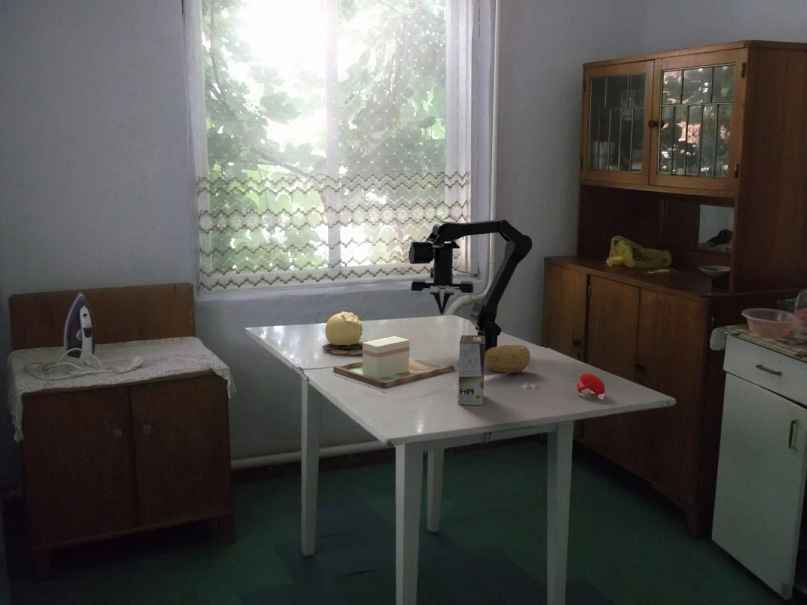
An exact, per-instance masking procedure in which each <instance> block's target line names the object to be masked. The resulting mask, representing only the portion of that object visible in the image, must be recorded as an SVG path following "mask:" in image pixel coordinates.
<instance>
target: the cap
mask: <svg viewBox="0 0 807 605" xmlns="http://www.w3.org/2000/svg"><path fill="white" fill-rule="evenodd" d="M576 388H577V392H578V393H579V392H580V393H582V394H583V392H582V391H584V390H587V389H588V390H589V391H590V390H591V391H593V392H595V393H594V394H595V396H596V395H599V394H603V393H605V394H606V391H605V390H606V387H605V384H604V382H603V381H602V379H600V377H598V376H597V375H594V374H592V373H589V372H588V373H587V372H586V373H582V374H580V375H579V380H578V382H577V386H576Z"/></svg>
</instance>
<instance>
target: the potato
mask: <svg viewBox="0 0 807 605" xmlns="http://www.w3.org/2000/svg"><path fill="white" fill-rule="evenodd" d="M530 360H531V353H530V350H529V349H528V347H527V346H526V345H523V344H504V345H499V346H498V345H497V347H493V348H490V349H489V350H487V352H486V353H485V364H486V365H487V367H488V368H490V369H491V370H492V371H494V372H496V373H497V374H500V373H510V374H513V373H516V372H519V371H523V370H525V368H526V367H527V366H528V365H529V363H530ZM486 365H485V366H486Z"/></svg>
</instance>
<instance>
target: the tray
mask: <svg viewBox="0 0 807 605" xmlns="http://www.w3.org/2000/svg"><path fill="white" fill-rule="evenodd" d="M431 368H434V369H431ZM427 369H429V370H427ZM424 370H426V371H424ZM451 371H455V364H448V365H445V366H442V365H437V364H435V363H432V362H428V361H425V360H421V359H416V358H415V357H414V358H413V357H410V356H409V371H407V372H403V373H398V374H394V375H390V376H386V377H382V378H378V379H376V378H373V377H370V376H367V375H364V374H363V359H362V360H358V361H355V362H354V361H352V362H350V363H348V362H347V363H345V364H340V365H335V366H333V372H335V373H337V374H340V375H343V376H347V377H349V378H352V379H355V380H359V381H361V382H365V383H367V384H370V385H373V386H377V387H379V388H382V389H384V388H385V389H386V388H388V387H393V386H397V385H401V384H405V383H409V382H413V381H416V380H421V379H425V378H429V377H433V376H437V375H440V374H444V373H447V372H451ZM334 375H335V374H334ZM337 376H338V377H337ZM335 377H337V378H340V377H341V376H339V375H335ZM343 378H344V377H341V379H343ZM343 380H347V381H349V380H350V379H347V378H344V379H343ZM352 381H353V380H350V381H349V382H352ZM355 382H356V381H353V382H352V383H355ZM358 383H359V384H358ZM355 384H358V385H360V384H362V383H360V382H356V383H355ZM363 385H365V384H362V385H361V386H363ZM366 386H368V385H365V386H364V387H366ZM369 387H370V386H368V387H367V388H369Z"/></svg>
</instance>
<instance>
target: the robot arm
mask: <svg viewBox="0 0 807 605" xmlns="http://www.w3.org/2000/svg"><path fill="white" fill-rule="evenodd" d="M431 230H432V231H431V233H430V234H429V236H428V237H427V238H426V240H425V241H416V240H413V241H411V243H410V246H409V251H408V261H409V263H410V264H411V265H429V264H431V262H433V267H431V268H430V274H429V278H430V279H431V280H433V282H431V281H430V282H427V279H424V278H423V279H419V278H417V279H416V278H414V279H413V280H412V281H411V286H410V287H411V288H410V291H412V292H422V291H423V290H424V289H429V290H430V292H429V295H433V297H434V299H435V302H436V304H437V307H438V310H439V313H440V315H444V313H445V310H446V307H447V303H448V301H449V300H450V297H451V296H455V292H456V290H458V291H460V292H462V293H463V294H465V293H466V294H473V293H474V289H475V288H474V286H475V285H474V284H475V282H474V281H472V280H461V281H460V283H456V282H455V283H453V282H454V274H453V262H454V261H453V259H454V258H453V256H454V250H456V249H457V250H458V249H460V248H461V246H460V245H459V244H458V243H457V242H456V240H460V239H461V238H464V237H467V236H477V235H487V234H496V233H498V234H499V235H500V237H501V238H502V240H504V241H505V242H506V243H505V246H504V256H503V260H502V261H501V263H500V265H499V268H498V270H497V272H496V273H495V276H494V278H493V280H492V282H491V284H490V286H489V288H488V289H487V292H486V294H485V296H484V298H483V299H482V300H481V301H480V302H479V301H474V303H473V307H472V308H471V310H470V311H469V313H470V315H469V320H470V323H471V325H473V326H474V328H475V330H476V332H477V334H476V335H478V336H485V353H486V352H487V350H489V349H490V348H493V347H498V339H499V338H498V337H499V336H500V335H501V333H502V328H501V326H499V325H498V324H497V323H496V321H497V320H496V319H497V317H498V308H499V307H498V306H499V303H500V302H501V300H502V297H503V296H504V293H505V291H506V289H507V287H508V285H509V283H510V281H511V279H512V277H513V275H514V273H515V270H516V268H517V267H518V265H519V264H520V263H521V262H522V261H523V260H524V259H525V258H526V257H527V256H528V254H529V253H530V251H531V250H532V248H533V240H532V238H531V237H530V236H528V235H526V234H523V233H522V232H520V230H518V229H517V228H516V227H514V226H513V225H512V224H510V222H509V221H508V220H506V219H503V218H496V219H490V220H489V219H488V220H481V221H480V220H478V221H469V222H455V221H445V220H439V221H437V222H436V223H434V225H433V227H432V229H431ZM442 290H444V292H443V293H444V294H443V300H442ZM442 301H443V302H442Z"/></svg>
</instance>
